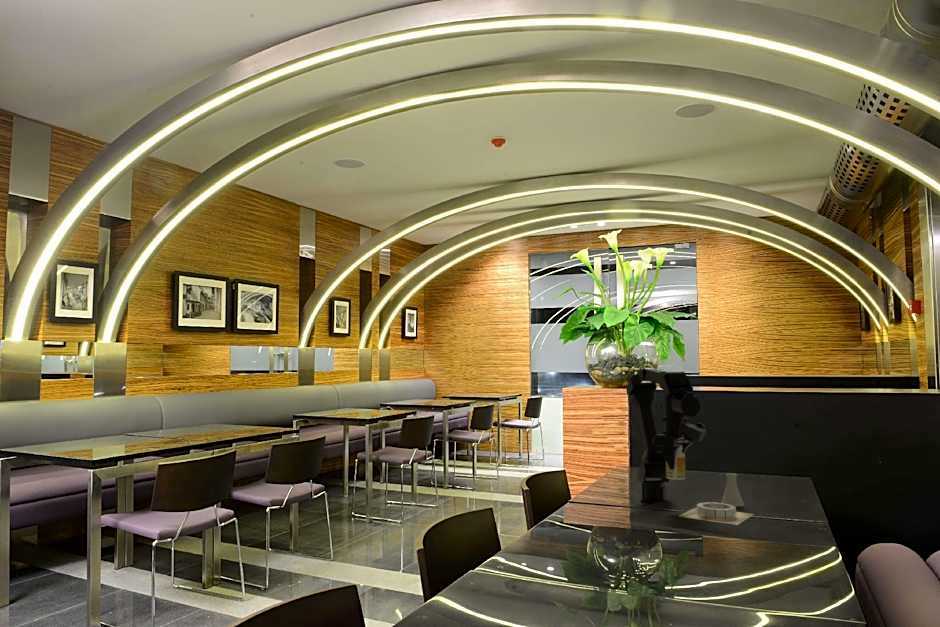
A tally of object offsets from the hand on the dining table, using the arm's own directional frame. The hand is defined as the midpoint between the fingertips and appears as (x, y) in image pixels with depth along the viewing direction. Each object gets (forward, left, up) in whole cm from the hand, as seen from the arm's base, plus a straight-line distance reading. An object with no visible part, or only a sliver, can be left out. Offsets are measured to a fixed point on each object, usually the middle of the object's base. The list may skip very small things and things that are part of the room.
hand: (675, 468), depth 194 cm
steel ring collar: (+11, 0, -12) cm, 16 cm away
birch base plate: (+11, 0, -13) cm, 17 cm away
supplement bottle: (0, 0, -3) cm, 3 cm away
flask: (+10, +18, -13) cm, 25 cm away
